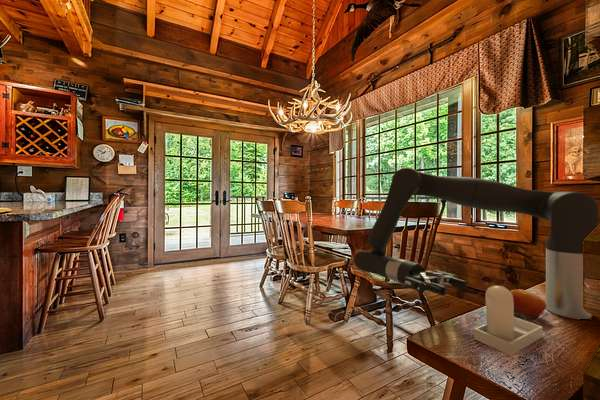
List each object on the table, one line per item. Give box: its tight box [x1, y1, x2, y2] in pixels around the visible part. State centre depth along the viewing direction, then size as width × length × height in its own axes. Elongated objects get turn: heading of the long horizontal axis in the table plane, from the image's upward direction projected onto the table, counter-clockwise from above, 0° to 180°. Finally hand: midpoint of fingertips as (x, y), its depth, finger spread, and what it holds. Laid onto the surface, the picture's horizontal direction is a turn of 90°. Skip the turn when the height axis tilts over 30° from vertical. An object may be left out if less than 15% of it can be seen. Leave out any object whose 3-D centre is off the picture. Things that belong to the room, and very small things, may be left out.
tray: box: [473, 316, 544, 356], centre depth 61 cm, size 14×7×2 cm, turn 118°
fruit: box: [509, 288, 546, 321], centre depth 72 cm, size 8×8×8 cm
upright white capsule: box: [485, 285, 515, 342], centre depth 60 cm, size 5×5×12 cm
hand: (456, 288), depth 68 cm, fingers open, 8 cm apart
